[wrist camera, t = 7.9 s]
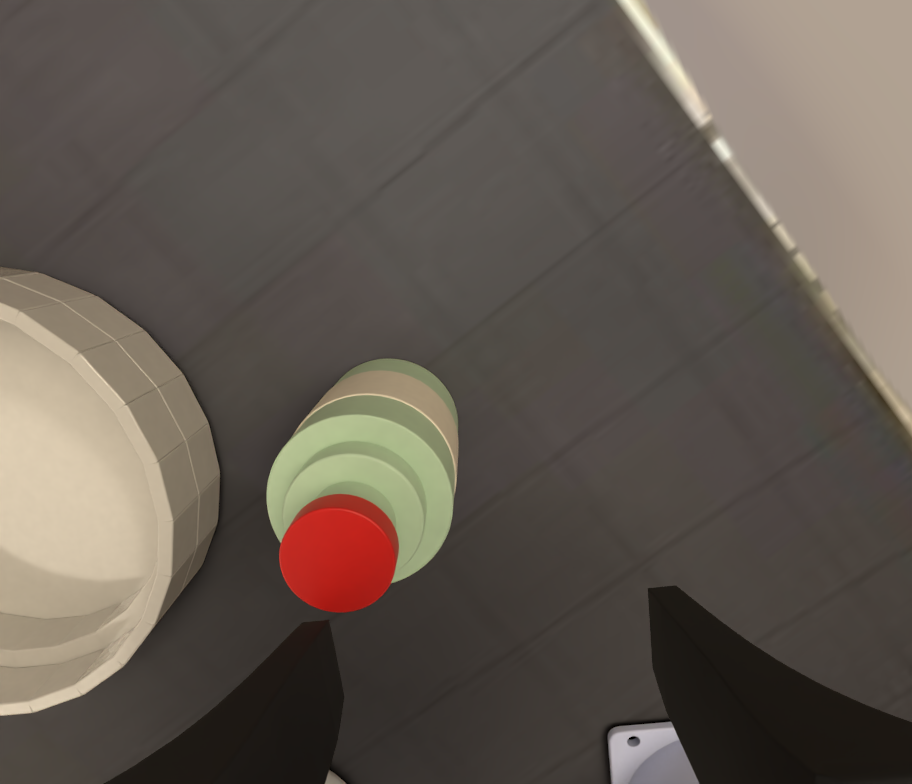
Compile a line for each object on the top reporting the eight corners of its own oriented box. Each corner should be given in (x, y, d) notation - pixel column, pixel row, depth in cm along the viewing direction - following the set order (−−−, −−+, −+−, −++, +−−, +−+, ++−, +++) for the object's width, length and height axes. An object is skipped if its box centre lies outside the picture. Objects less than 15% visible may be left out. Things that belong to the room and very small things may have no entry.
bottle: (450, 349, 23) (435, 441, 14) (467, 480, 25) (464, 650, 15) (311, 365, 24) (199, 466, 14) (334, 494, 25) (247, 670, 15)
